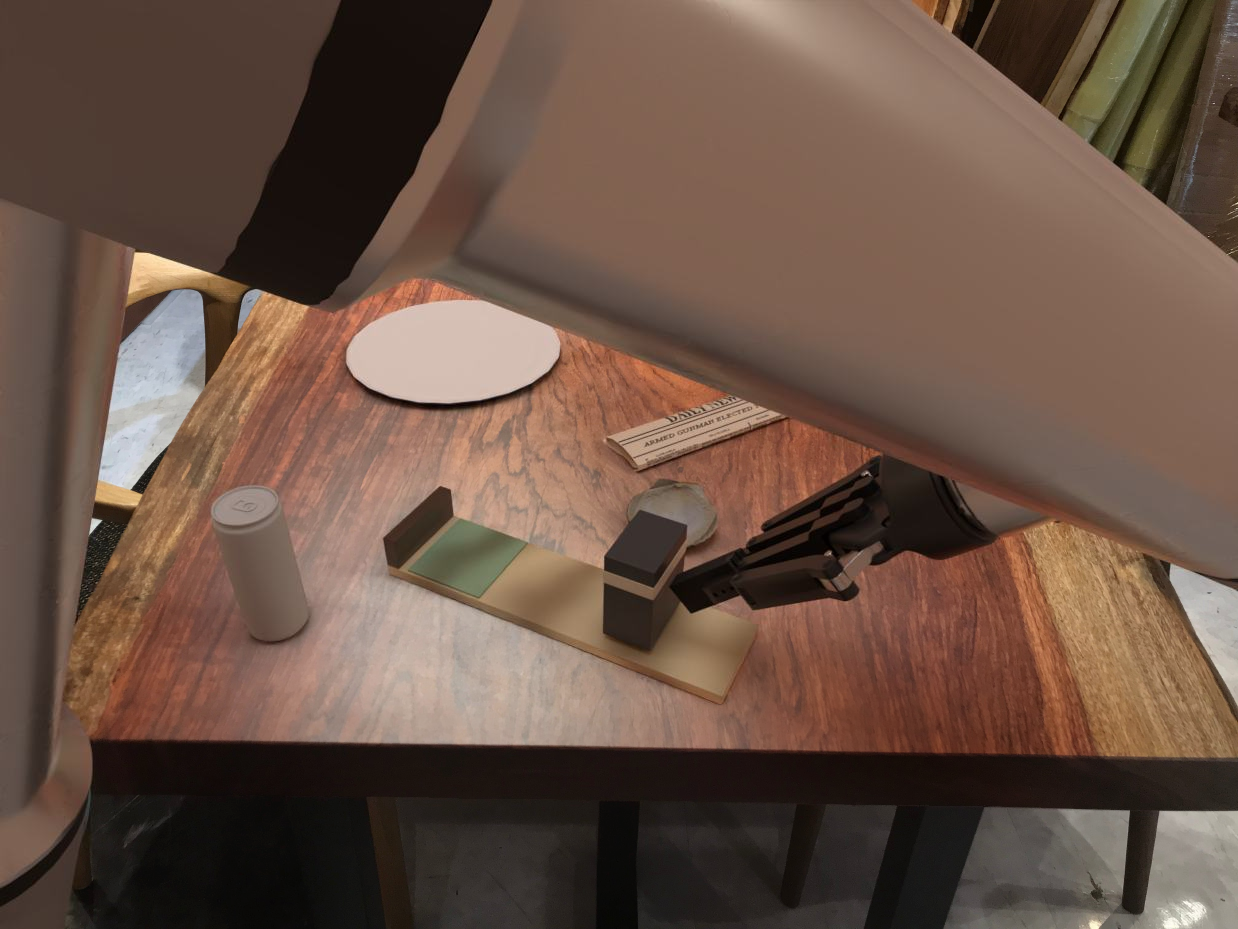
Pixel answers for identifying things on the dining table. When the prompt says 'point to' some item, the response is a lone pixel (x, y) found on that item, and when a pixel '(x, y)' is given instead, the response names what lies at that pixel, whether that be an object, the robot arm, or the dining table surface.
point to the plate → (452, 352)
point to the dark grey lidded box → (642, 579)
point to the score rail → (558, 598)
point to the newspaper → (689, 431)
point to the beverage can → (260, 561)
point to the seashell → (678, 507)
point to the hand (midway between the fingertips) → (684, 594)
